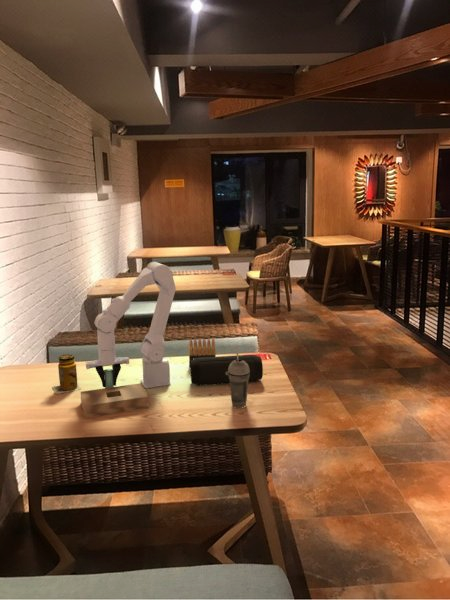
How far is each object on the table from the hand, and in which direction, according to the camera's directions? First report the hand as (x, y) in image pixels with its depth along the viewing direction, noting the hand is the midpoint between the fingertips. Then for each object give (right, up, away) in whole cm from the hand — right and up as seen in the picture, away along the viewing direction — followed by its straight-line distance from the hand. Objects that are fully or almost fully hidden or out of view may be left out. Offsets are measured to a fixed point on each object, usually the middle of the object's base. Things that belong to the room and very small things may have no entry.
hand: (109, 385), depth 173 cm
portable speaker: (+41, -1, +8) cm, 42 cm away
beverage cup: (+45, -5, -11) cm, 47 cm away
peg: (0, -2, +1) cm, 2 cm away
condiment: (-16, -2, +4) cm, 17 cm away
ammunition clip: (+32, +3, +24) cm, 40 cm away
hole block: (+4, -5, -10) cm, 12 cm away
